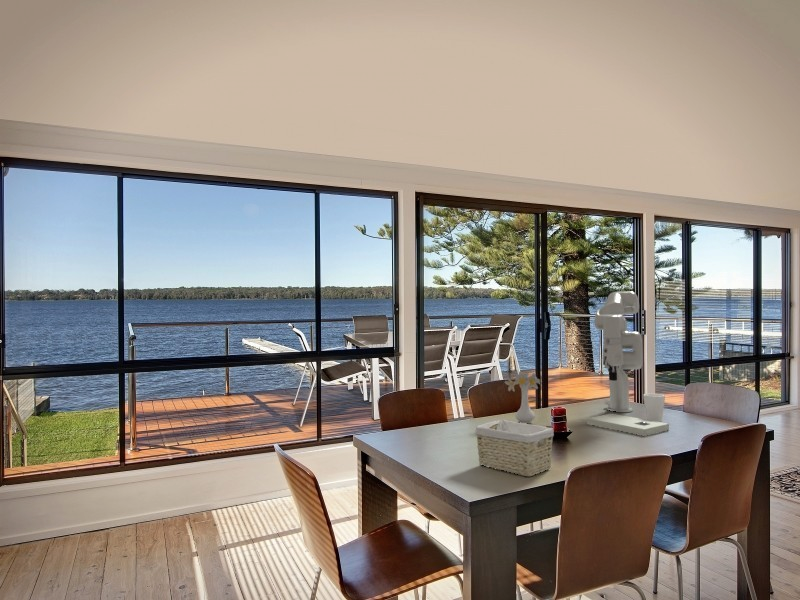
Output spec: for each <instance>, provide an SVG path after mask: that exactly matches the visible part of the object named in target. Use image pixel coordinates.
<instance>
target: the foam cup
mask: <svg viewBox="0 0 800 600" xmlns="http://www.w3.org/2000/svg"><path fill="white" fill-rule="evenodd" d="M665 401H666V396H665V394H662V393H652V392H651V393H644V394H643V402H644V408H645V415H646V420H651V421H656V422H662V423H663V417H664V408H665V407H664V406H665Z"/></svg>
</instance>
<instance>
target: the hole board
mask: <svg viewBox="0 0 800 600" xmlns="http://www.w3.org/2000/svg"><path fill="white" fill-rule="evenodd" d="M640 422H646V423H647V424H648V425H645V426H644V425H639V423H640ZM586 423H587V425H588V424H589V426H592V425H595V426H594V427H597V426H599V427H598V428H602V427H604V428H603V429H607V428H609V429H608V430H612V429H614V430H613V431H617V430H619V431H618V432H621V431H623V432H622V433H626V432H628V433H627V434H631V433H633V434H632V435H636V434H637V436H641V435H642V437H647V435H648V436H651V434H652V435H656V434H659V432H660V433H663V432H662V431H665V432H668V431H667V430H669V431H670V424H669V423H666V422H663V421H662V422H656V421H651V420H647V419H645V418H639V417H634V416H628V415H621V414H616V413H608V414H603V415H597V416H592V417H587V422H586ZM655 433H656V434H655Z"/></svg>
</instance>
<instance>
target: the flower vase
mask: <svg viewBox="0 0 800 600" xmlns="http://www.w3.org/2000/svg"><path fill="white" fill-rule="evenodd" d="M506 379H507V380H505V381H504V385H507V386H508V388H507V391H508V392H510V391H513V392H515V386H516V385H519V388H520V390H521V403H520V408H519V409H518V410H517V412H516V413H515V418H516V420H517V421H518V423H519V422H521V423H531V422H532V423H533V421H534V420H535V418H536V415H535V412H534V411H533V410H532V408H531V407H530V405H529V389H532V388H534V389H535V390H538V389H539V387H538V384H539V385H541V379H540V378H538V377H537V375H536V373H535V372H534V371H532V374H531V375H530V376H529V372H528V371H527V372H524V373H523V371H521V370H520V371H518V373H517V374H516V375H515V378H514V381H513V380H512V379H510V378H509V377H508V376H506ZM532 423H531V424H532Z"/></svg>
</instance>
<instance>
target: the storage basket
mask: <svg viewBox="0 0 800 600" xmlns="http://www.w3.org/2000/svg"><path fill="white" fill-rule="evenodd" d="M474 433H475V435H476V441H477V442H476V443H477V445H476V448H477V454H478V462H479V463H478V464H479V465H480V464H482V465H485V466H489V467H492V468H491V469H493V468H496V469H500V470H499V471H501V470H504V471H503V472H506V471H507V472H506V473H509V472H511V473H510V474H514V473H515V474H514V475H517V474H518V475H519V476H523V477H532V476H535V474H536V475H538V474H541V473H544V472H546V471H547V470H550V469H551V466H552V451H553V449H552V448H553V445H552V444H553V437H554V436H555V434H554V433H555V432H554V429H553V428H552V427H547V426H541V425H535V424H523V423H519V421H518V422H517V421H511V420H505V419H498V420H494V421H493V420H492V421H490V422H486V423H483V424H479V425H476V426H475V431H474ZM489 467H488V468H489ZM496 469H495V470H496ZM545 470H546V471H545ZM540 472H541V473H540Z"/></svg>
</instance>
